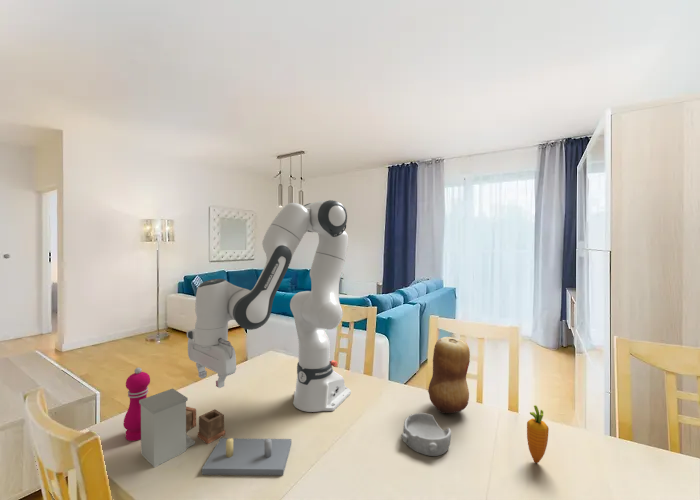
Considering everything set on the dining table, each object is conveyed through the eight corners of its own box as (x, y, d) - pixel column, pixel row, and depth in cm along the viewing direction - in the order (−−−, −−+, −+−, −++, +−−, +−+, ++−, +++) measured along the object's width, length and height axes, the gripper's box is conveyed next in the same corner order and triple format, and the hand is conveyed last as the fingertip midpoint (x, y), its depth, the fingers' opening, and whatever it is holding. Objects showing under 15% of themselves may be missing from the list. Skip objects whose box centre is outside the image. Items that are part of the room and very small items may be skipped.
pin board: (220, 443, 91) (220, 424, 91) (291, 444, 92) (291, 425, 92) (202, 474, 79) (202, 452, 79) (283, 475, 80) (283, 453, 80)
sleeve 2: (215, 427, 99) (215, 408, 99) (225, 434, 96) (225, 414, 95) (197, 436, 94) (197, 416, 94) (207, 444, 91) (207, 423, 91)
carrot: (546, 472, 83) (549, 415, 82) (524, 464, 85) (527, 409, 85) (547, 461, 87) (549, 406, 86) (526, 454, 89) (528, 401, 89)
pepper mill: (138, 444, 90) (138, 374, 90) (117, 440, 92) (116, 371, 91) (158, 429, 98) (158, 364, 97) (138, 425, 99) (138, 361, 98)
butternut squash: (468, 425, 103) (471, 348, 102) (425, 416, 107) (427, 342, 106) (468, 404, 116) (470, 335, 115) (430, 397, 120) (432, 331, 119)
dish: (419, 422, 104) (419, 407, 104) (459, 442, 94) (460, 426, 94) (391, 441, 94) (391, 425, 94) (433, 466, 84) (434, 448, 84)
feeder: (182, 434, 95) (182, 385, 95) (197, 445, 90) (197, 394, 90) (139, 454, 86) (139, 400, 86) (153, 468, 81) (153, 411, 81)
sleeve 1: (181, 422, 101) (181, 405, 101) (196, 425, 100) (196, 408, 100) (165, 433, 96) (165, 415, 95) (180, 436, 94) (180, 419, 94)
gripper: (242, 340, 90) (241, 388, 91) (203, 326, 102) (203, 369, 103) (221, 345, 85) (221, 397, 85) (183, 330, 97) (183, 375, 98)
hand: (211, 381), depth 94 cm, fingers open, 8 cm apart
